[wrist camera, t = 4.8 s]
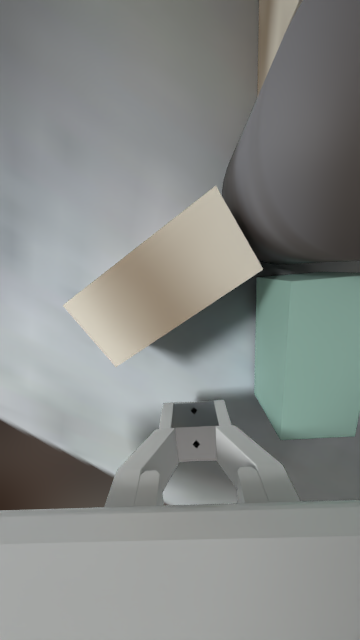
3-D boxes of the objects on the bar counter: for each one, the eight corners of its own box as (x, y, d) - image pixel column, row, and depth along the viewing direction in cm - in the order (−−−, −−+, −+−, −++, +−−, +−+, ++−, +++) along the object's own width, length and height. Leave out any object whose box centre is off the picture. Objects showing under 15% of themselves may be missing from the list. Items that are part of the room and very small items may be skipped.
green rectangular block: (256, 277, 9) (291, 281, 6) (321, 271, 9) (386, 273, 6) (254, 393, 11) (280, 440, 8) (308, 390, 11) (354, 436, 8)
